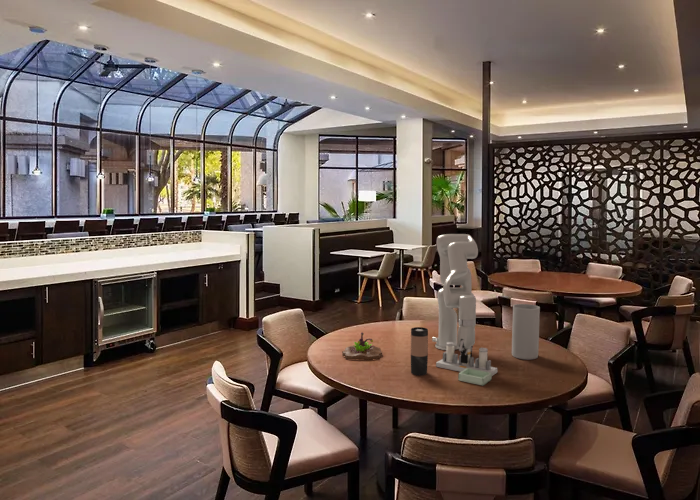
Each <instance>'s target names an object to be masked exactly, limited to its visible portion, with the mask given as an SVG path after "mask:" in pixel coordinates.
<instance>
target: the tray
mask: <svg viewBox="0 0 700 500" xmlns="http://www.w3.org/2000/svg"><path fill="white" fill-rule="evenodd" d="M492 377H493V376H492V373H490V372H485V371H480V370H475V369H470V368H467V369H465V370H463V371H462V372H458V378H457V379H458V381H461V382H465V383H469V384H474V385H478V386H483V387H484V386H485V385H486V384H488V383H489V382H490V381H492Z"/></svg>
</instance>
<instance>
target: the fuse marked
mask: <svg viewBox="0 0 700 500" xmlns="http://www.w3.org/2000/svg"><path fill="white" fill-rule="evenodd" d="M463 347H464V348H465V346H463ZM463 350H465V349H463ZM471 353H472V352H471V347H469V348H468V350H467V355H468V363H467V364H466V363H462V365H463V366H470V354H471Z"/></svg>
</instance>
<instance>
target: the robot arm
mask: <svg viewBox="0 0 700 500" xmlns="http://www.w3.org/2000/svg"><path fill="white" fill-rule="evenodd" d="M436 248H437V252H438V255H439V260H440V261H439V264H440V265H439V273H440V274H439V276H440V279H439V280H440V283H441V284H442V286H443V287H441V288H439V289H438V291H437V294H436V296H437V305H438V306H437V307H438V335H437V337H435V336H432V338H431V342H434V343H435V349H438V350H442V351H446V343H447V342H453V343H455V345H454V351H457V350H458V351H459V354H460V355H461V363H466V364H467V363H468V355H467V350H468V348H469V347H471V354H470V358H471V357H473V346H474V345H475V343H476V329H475V328H476V326H477V325H476V322H477V321H476V319H477V315H476V314H477V313H476V312H477V310H476V309H477V298H476V296H475V295H474V293H473V291H472V286H473V285H472V272H471V269H470V268H469V267H468V259H469V260H470V259H471V260H473V259H476V258H477V257H478V256H479V249H478V244H477V242H476V240H475V239H474V238H473V237H472V235H470V234H468V233H467V234H466V233H446V234H445V233H444V234H441V235H438V236H437V237H436ZM450 286H461V287H450ZM455 309H458V314H457V311H456V310H455ZM463 346H465V348H464V347H463ZM463 349H465V350H463Z"/></svg>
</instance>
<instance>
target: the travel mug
mask: <svg viewBox="0 0 700 500" xmlns="http://www.w3.org/2000/svg"><path fill="white" fill-rule="evenodd" d="M428 360H429V330H428V328H426V327H422V326H421V327H420V326H419V327H418V326H417V327H412V328H410V373H411V374H412V375H413V374H414V376H426V375H427V374H428Z"/></svg>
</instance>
